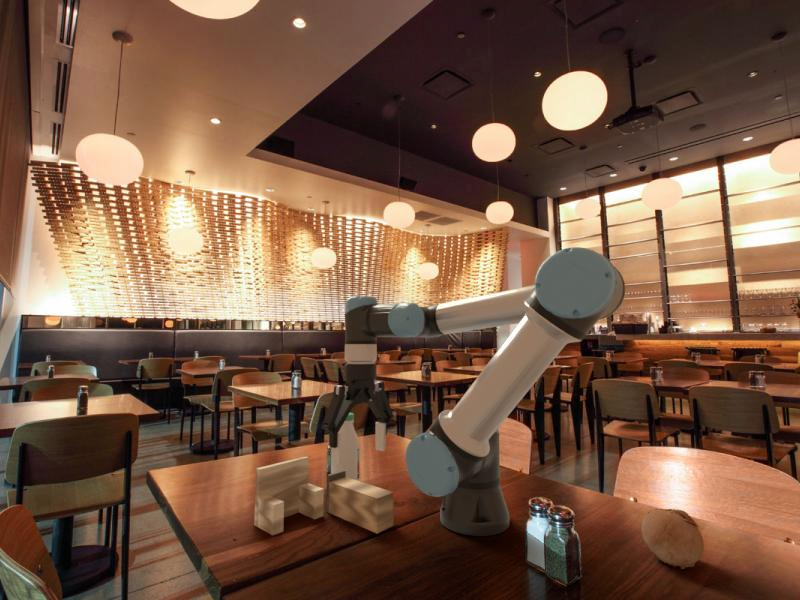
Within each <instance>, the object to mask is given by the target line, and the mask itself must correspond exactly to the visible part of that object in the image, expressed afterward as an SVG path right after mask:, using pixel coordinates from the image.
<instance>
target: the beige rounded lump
mask: <svg viewBox="0 0 800 600" xmlns="http://www.w3.org/2000/svg"><path fill="white" fill-rule="evenodd" d="M640 530H641V531H640V532H641V537H642V538H643V540H644V543H645V544H646V545H647V547H648V549H649V551H650V553H651V554H652V555H653V556H654V557H655V558H656V559H657V560H658V561H659V560H661V561H660V562H662V563H663V562H664V564H666V563H667V564H666V565H669V566H672V567H673V566H674V567H673V568H675V567H677V566H679V567H678V568H680V569H682V570H683V569H684V570H685V569H686V568H690V567H694V566H695V564H696V563H697V562H698V561H700V559H701V558H702V556H703V554H704V547H705V546H704V545H705V544H704V538H703V536H702V532H700V531H701V530H699V525H698V524H697V523H696V522H695V520H694V519H693V517H692V516H690V514H689V513H688V512H686V511H685V510H682V509H675V508H667V509H666V508H665V509H664V508H663V509H662V508H660V509H659V508H658V509H657V508H655V509H652V510H650V511H648V512H647V514H646V515H645V516H644V517H643V519H642V521H641V525H640Z"/></svg>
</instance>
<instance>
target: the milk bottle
mask: <svg viewBox="0 0 800 600" xmlns="http://www.w3.org/2000/svg"><path fill="white" fill-rule="evenodd" d="M354 422H355V413H353V412H350V413H349V415H348V416H347V418H346V420H345V422H344V423H343V425H342V427H341V428H340V430H339V432H342V463H340V464H338V463H334V462H331V461H330V462H331V463H330V466H331V468H330V474H332V473H336V472H339V471H343V470H344V471H346V477H348V478H351V479H354V480H357V481H360V442H359V437H358V434H357V433H356V429H355V427H354Z"/></svg>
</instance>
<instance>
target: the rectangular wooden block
mask: <svg viewBox="0 0 800 600" xmlns="http://www.w3.org/2000/svg"><path fill="white" fill-rule="evenodd" d="M326 478H327V479H326V512H327V514H331V515H333V516H335V517H337V518H340V519H342V520H344V521H347V522H349V523H352V524H354V525H356V526H358V527H360V528H363V529H366V530H368V531H371V532H372V533H375V534H379V533H381V532H383V531H387V530H388V529H390V528H392V527H394V524H395V523H394V491H392V490H388V489H385V488H382V487H378V486H375V485H374V484H373V485H372V484H369V483H366V482H363V481H360V480H359V481H357V480H354V479H351V478H348V477H346V471H344V470H343V471H339V472H336V473H332V474H331V473H329V474H327V475H326Z"/></svg>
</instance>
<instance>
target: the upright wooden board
mask: <svg viewBox="0 0 800 600" xmlns="http://www.w3.org/2000/svg"><path fill="white" fill-rule="evenodd" d="M309 459H310V458H309V456H301V457H296V458H292V459H289V460H284V461H281V462H276V463H273V464H269V465H265V466H260V467H256V468H255V487H254V489H255V490H254V491H255V492H254V517H253V518H254V520H253V521H254V522H253V525H254V526H255V527H257V528H258V529H260V530H262V531H264V532H266V533H267V534H269V535H270V536H275V535H278V534H280V533H283V532H284V521H285V519H284V518H287V517H290V516H293V515H296V514H298V513H300V514H301V515H303V516H306V517H308V518H310V519H312V520H317V519H320V518H322V517H324V509H325V508H324V503H325V501H324V497H325V496H324V495H325V494H324V492H325V491H324V489H325V488H323V487H320V486H318V485H315V484H311V483H309V474H310V473H309V472H310V471H309V469H310V468H309V466H310V465H309V463H310V461H309Z"/></svg>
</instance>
